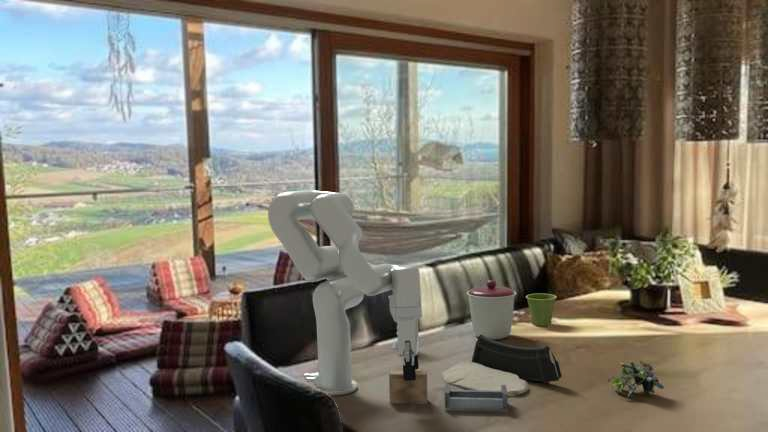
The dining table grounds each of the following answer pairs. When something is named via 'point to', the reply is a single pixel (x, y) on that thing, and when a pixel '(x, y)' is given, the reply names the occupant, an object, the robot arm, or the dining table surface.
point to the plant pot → (541, 308)
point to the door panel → (408, 388)
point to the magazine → (517, 360)
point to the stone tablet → (484, 378)
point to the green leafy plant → (636, 378)
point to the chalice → (395, 344)
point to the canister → (491, 310)
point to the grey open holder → (476, 400)
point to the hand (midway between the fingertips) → (411, 374)
